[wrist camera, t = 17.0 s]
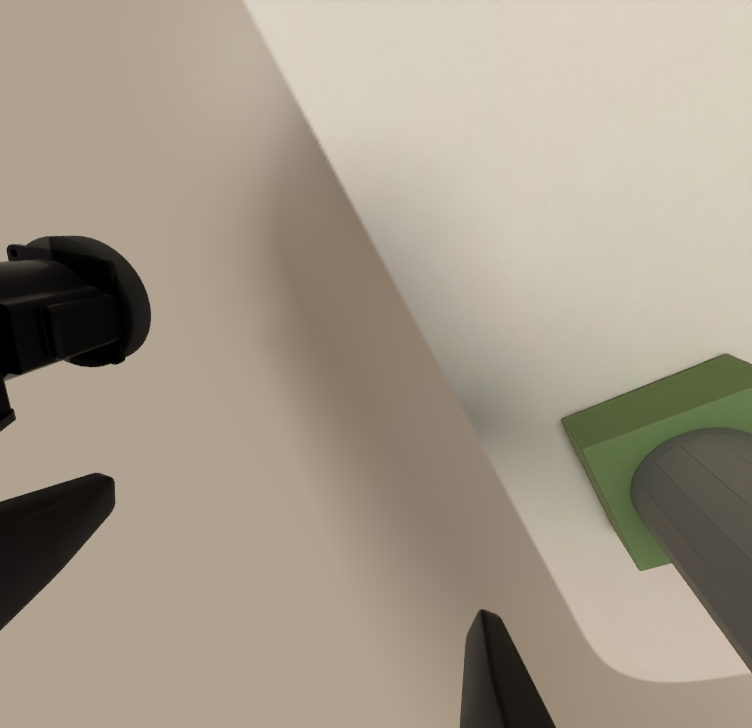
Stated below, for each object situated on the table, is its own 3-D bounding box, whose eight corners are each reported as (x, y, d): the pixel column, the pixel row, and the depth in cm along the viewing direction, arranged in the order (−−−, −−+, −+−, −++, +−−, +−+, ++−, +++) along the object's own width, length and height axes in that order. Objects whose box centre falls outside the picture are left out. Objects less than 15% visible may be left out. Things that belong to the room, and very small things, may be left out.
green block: (560, 419, 20) (581, 449, 17) (727, 353, 18) (782, 376, 15) (613, 528, 22) (640, 572, 19) (770, 480, 20) (826, 522, 17)
